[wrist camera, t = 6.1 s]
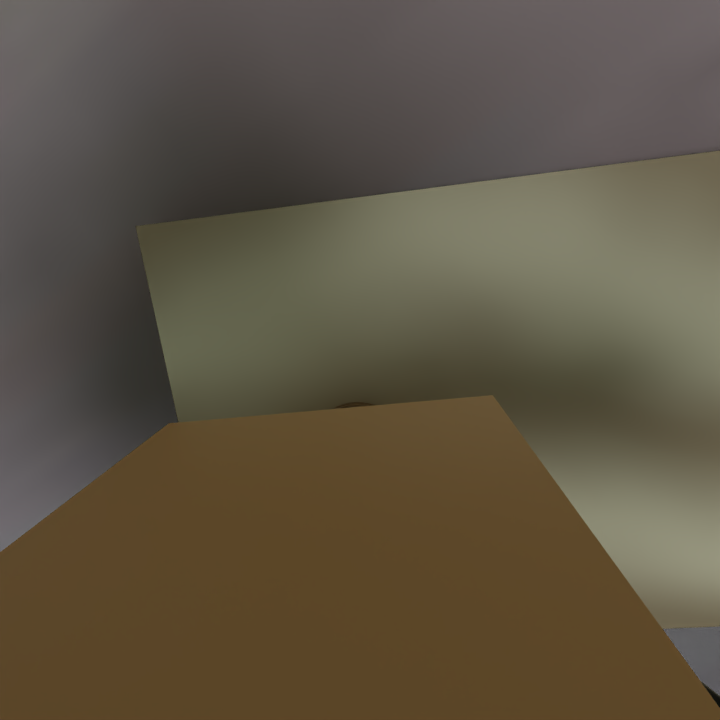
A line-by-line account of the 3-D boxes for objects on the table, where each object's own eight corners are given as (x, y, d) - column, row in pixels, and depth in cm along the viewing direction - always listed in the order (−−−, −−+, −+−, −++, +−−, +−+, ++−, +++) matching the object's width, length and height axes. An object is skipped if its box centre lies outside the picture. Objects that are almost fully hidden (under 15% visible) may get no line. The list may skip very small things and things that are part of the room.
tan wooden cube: (506, 671, 8) (718, 1431, 3) (226, 680, 9) (-31, 1344, 3) (492, 394, 7) (812, 833, 2) (168, 423, 8) (-367, 833, 2)
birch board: (877, 592, 13) (914, 618, 12) (237, 621, 15) (227, 646, 14) (957, 125, 11) (1014, 112, 10) (155, 228, 12) (135, 226, 11)
